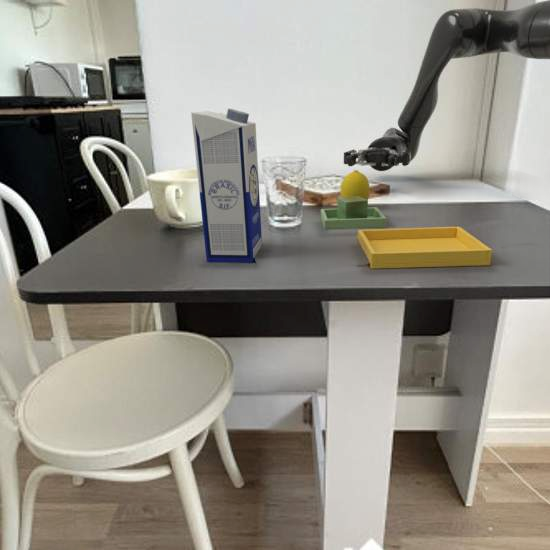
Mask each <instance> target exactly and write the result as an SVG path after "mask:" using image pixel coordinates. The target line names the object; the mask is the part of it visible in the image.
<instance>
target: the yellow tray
mask: <svg viewBox="0 0 550 550" xmlns="http://www.w3.org/2000/svg"><path fill="white" fill-rule="evenodd" d="M357 241H358V243H359V245H360V247H361V248H362V251H363V252H364V254H365V256H366V259H367V260H368V266H369V268H370V269H371V270H374V269H378V270H379V269H410V268H440V267H441V268H443V267H475V266H479V267H480V266H481V267H482V266H490V265H491V261H492V254H493V248H490V247H489V246H487V245H486V244H485V243H483V242H482V241H481V240H479V239H478V238H476V237H475V236H473V235H472V234H471V233H470V232H468V231H467V230H465V229H464V228H462V227H461V226H438V227H436V226H435V227H433V226H432V227H406V228H404V227H403V228H401V227H400V228H370V229H358V230H357Z"/></svg>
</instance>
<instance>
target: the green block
mask: <svg viewBox="0 0 550 550" xmlns="http://www.w3.org/2000/svg"><path fill="white" fill-rule="evenodd" d="M368 207H369V199H368V200H366V199H364V198H361V197H359V196H354V197H343V198H341V197H337V198H336V209H337V219H354V218H367V213H368Z"/></svg>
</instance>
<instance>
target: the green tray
mask: <svg viewBox="0 0 550 550" xmlns="http://www.w3.org/2000/svg"><path fill="white" fill-rule="evenodd" d="M320 220H321V223H322V225H323V226H322V227H323V228H324V230H344V229H345V230H348V229H351V230H352V229H383V228H387V217H386V216H385V215H384V214H383V212H382V211H381V210H380V209H379V208H378V207H377V206H374V207H373V206H372V207H371V206H370V207H369V206H368V213H367V218H354V219H337V208H321V209H320Z"/></svg>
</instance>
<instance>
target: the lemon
mask: <svg viewBox="0 0 550 550" xmlns="http://www.w3.org/2000/svg"><path fill="white" fill-rule="evenodd" d="M370 187H371V186H370V181H369V179H368V178H367V176H366V175H365V174H364V173H362V172H359V170H358V169H354V170H353V171H352V172H349V173H348V174H346V175H345V177H344V178H343V180H342V182H341V185H340V198H343V197H354V196H359V197H361V198H364V199H366V200H368V201H369V198H370V193H371V192H370V191H371V190H370V189H371V188H370Z"/></svg>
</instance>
